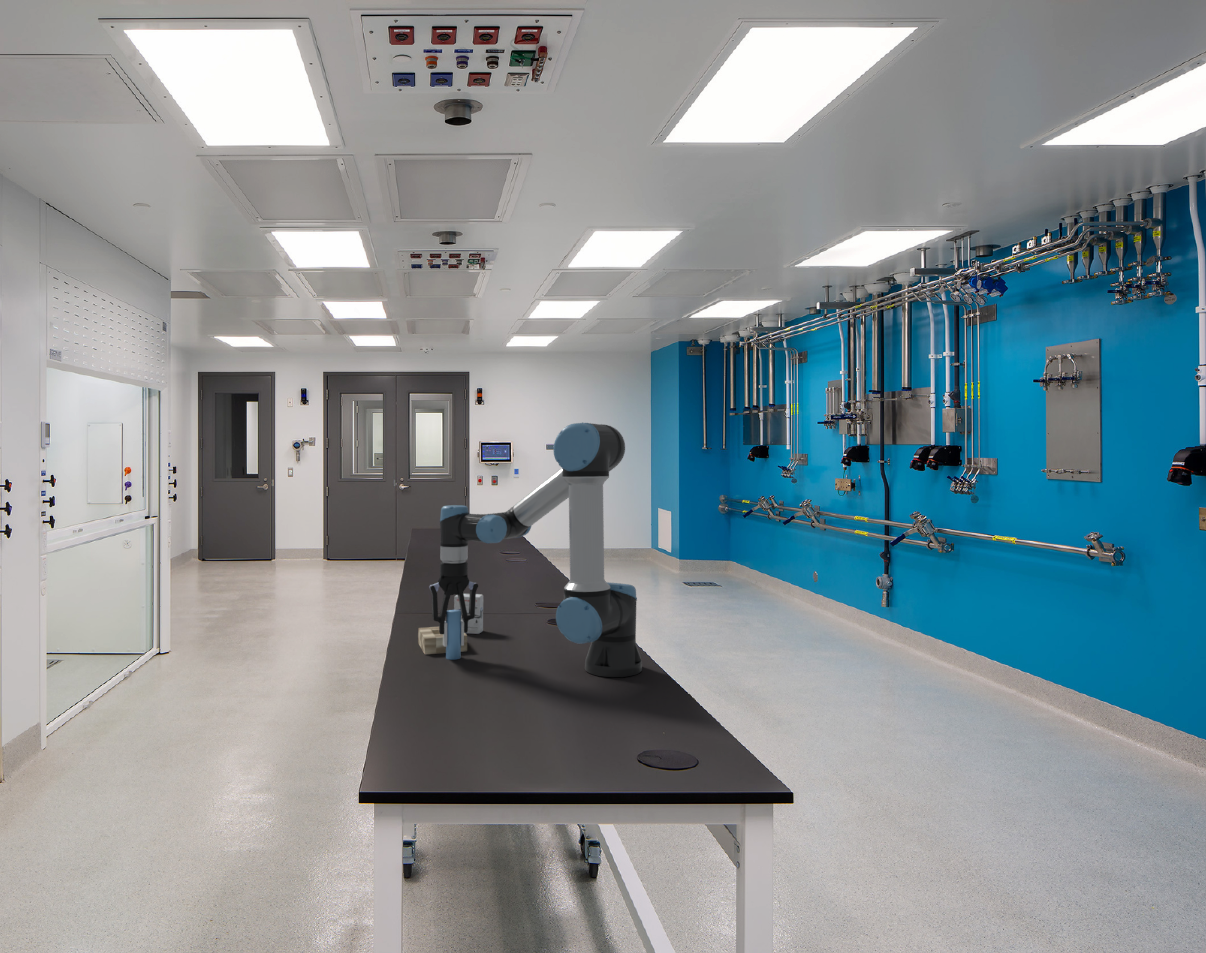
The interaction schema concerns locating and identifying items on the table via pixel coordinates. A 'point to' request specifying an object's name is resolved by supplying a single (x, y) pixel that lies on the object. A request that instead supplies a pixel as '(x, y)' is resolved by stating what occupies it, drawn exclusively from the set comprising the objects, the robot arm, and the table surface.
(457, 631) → the peg
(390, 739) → the table surface
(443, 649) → the socket block
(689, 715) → the table surface
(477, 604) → the ink box
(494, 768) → the table surface
